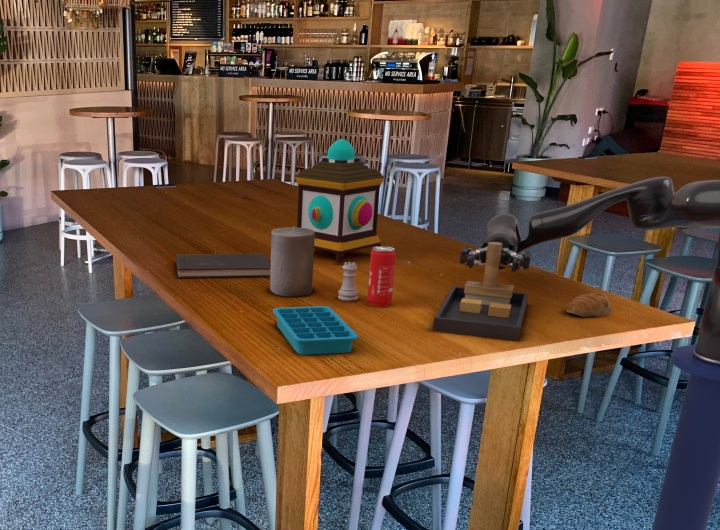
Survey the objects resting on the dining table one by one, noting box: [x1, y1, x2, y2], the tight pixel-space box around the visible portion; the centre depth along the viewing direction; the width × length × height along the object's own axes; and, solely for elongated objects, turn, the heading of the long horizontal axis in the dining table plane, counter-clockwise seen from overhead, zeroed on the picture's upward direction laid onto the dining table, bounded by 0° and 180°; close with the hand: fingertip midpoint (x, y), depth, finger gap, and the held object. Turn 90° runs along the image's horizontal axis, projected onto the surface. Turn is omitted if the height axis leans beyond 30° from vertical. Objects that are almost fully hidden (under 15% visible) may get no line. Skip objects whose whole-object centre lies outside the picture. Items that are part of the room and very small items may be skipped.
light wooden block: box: [459, 298, 482, 313], centre depth 163 cm, size 3×4×2 cm
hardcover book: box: [175, 252, 271, 279], centre depth 198 cm, size 16×23×2 cm
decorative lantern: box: [294, 138, 385, 265], centre depth 209 cm, size 20×20×30 cm
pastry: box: [565, 292, 613, 318], centre depth 163 cm, size 9×7×4 cm
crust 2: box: [488, 303, 511, 318], centre depth 160 cm, size 3×4×2 cm
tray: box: [432, 285, 529, 342], centre depth 161 cm, size 26×16×3 cm, turn 156°
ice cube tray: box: [272, 305, 359, 356], centre depth 149 cm, size 12×20×3 cm, turn 8°
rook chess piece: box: [337, 261, 359, 302], centre depth 172 cm, size 4×4×8 cm
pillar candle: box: [269, 225, 315, 297], centre depth 177 cm, size 10×10×15 cm
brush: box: [464, 242, 515, 305], centre depth 166 cm, size 4×10×13 cm, turn 66°
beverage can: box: [366, 245, 397, 308], centre depth 168 cm, size 5×5×12 cm
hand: (492, 265), depth 165 cm, fingers open, 8 cm apart
